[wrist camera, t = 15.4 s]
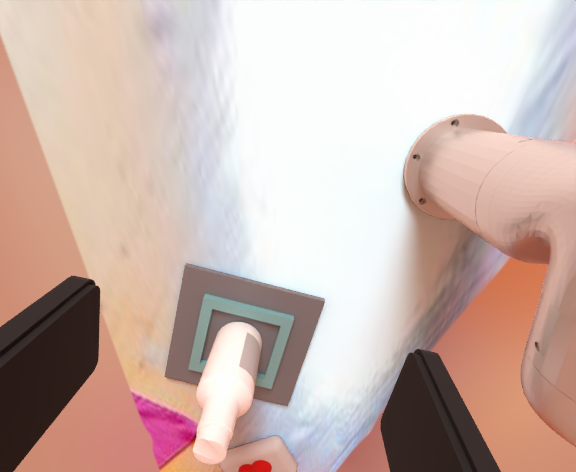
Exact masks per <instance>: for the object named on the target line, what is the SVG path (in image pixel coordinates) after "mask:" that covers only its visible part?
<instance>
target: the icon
mask: <svg viewBox="0 0 576 472" xmlns="http://www.w3.org/2000/svg"><path fill="white" fill-rule="evenodd" d="M218 464H219V467H220V468H221V469H222V471H223V472H297V463H296V461H295V459H294V458H293V456H292V454H291V453H290V451H289V450H288V448H287V446H286V445H285V443H284V441H283V440H282V438H281V437H279V436H277V435H275V436H271V437H268V438H265V439H261V440H258V441H255V442H252V443H249V444H245V445H242V446H239V447H236V448H233V449H229V450H227V454H226V457H225V459H224V460H223V461H222V462H220V463H218Z"/></svg>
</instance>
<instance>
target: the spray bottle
mask: <svg viewBox="0 0 576 472" xmlns="http://www.w3.org/2000/svg"><path fill="white" fill-rule="evenodd" d="M261 348H262V339H261V336H260V334H259V332H258V331H257V330H256V329H255V328H254V327H253V326H251V325H250V324H247V323H244V322H232V323H228V324H226V325H225V326H223V327H222V328H221V329H220V330H219V331H218V333H217V336H216V339H215V342H214V344H213V347H212V350H211V352H210V355H209V358H208V360H207V363H206V366H205V369H204V371H203V374H202V377H201V379H200V382H199V385H198V388H197V391H196V398H197V402H198V404H199V406H200V407H201V409H202V413H201V418H200V422H199V425H198V428H197V438H196V441H195V444H194V447H193V454H194V456H195V457H196V458H197V459H198V460H199V461H201V462H203V463H206V464H217V463H220V462H222V461H223V460H224V459H225V457H226V454H227V450H228V445H229V442H230V441H231V439H232V437H233V432H234V427H235V423H236V421H237V418H238V417H240V416H242V415H244V414H245V413H246V412H247V411H248V410H249V409H250V406H251V404H252V401H253V396H254V390H255V384H256V378H257V372H258V366H259V360H260V354H261Z"/></svg>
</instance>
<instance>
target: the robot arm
mask: <svg viewBox="0 0 576 472" xmlns="http://www.w3.org/2000/svg"><path fill="white" fill-rule="evenodd" d="M452 121H454V124H453V125H451V122H452ZM413 155H416V158H414V159H413ZM404 179H405V186H406V188H407V191H408V194H409V196H410V197H411V199H412V200H413V202H414V203H415V204H416V205H417V206H418V207H419V208H420V209H421V210H423V211H424V212H425V213H427V214H429V215H431V216H433V217H436V218H440V219H447V220H456V219H457V220H458V221H460V222H461V223H462V224H464V225H465V226H466V227H468V228H469V229H470V230H472V231H473V232H475V233H476V234H477V235H479V236H480V237H481V238H483V239H484V240H485V241H487V242H488V243H490V244H491V245H492V246H494V247H495V248H497V249H498V250H499V251H501V252H502V253H504V254H506V255H507V256H510V257H512V258H514V259H517V260H519V261H523V262H527V263H534V264H548V269H547V273H546V276H545V279H544V283H543V286H542V293H541V297H540V300H539V304H538V307H537V310H536V313H535V316H534V320H533V323H532V326H531V330H530V333H529V336H528V340H527V344H526V348H525V351H524V355H523V360H522V365H521V384H522V388H523V391H524V394H525V396H526V398H527V400H528V402H529V404H530V406H531V407H532V408H533V410H534V411H535V412H536V413H537V414H538V416H539V417H540V418H541V419H542V420H543V421H544V422H545V423H546V424H547V425H548V426H549V427H550V428H551V429H552V430H554V431H555V432H556V433H557V434H558V435H560V436H561V437H562V438H564V439H565V440H566V441H568V442H569V443H571V444H572V445H574V446H575V447H576V143H573V142H565V141H557V140H548V139H541V138H534V137H527V136H519V135H512V134H507V133H506V132H505V130H504V129H503V128H502V127H501V126H500V125H499V124H497V123H496V122H495V121H493V120H491V119H489V118H486V117H484V116H480V115H474V114H460V115H453V116H450V117H447V118H444V119H442V120H440V121H438V122H436V123H434V124H433V125H431V126H430V127H429V128H427V129H426V130H425V131H424V132H423V133H422V134H421V135H420V136H419V137H418V138H417V139H416V141H415V142H414V144H413V146H412V147H411V149H410V151H409V154H408V156H407V159H406V163H405V169H404ZM420 198H422V200H421V201H419V200H420ZM99 314H100V288H99V287H98V286H95V282H94V281H93V280H91V279H87V278H82V277H77V276H71V277H69V278H67V279H66V280H65V281H63V282H62V283H60V284H59V285H58V286H56V287H55V288H54V289H52V290H51V291H49V292H48V293H47V294H45V295H44V296H43V297H41V298H40V299H38V300H37V301H36V302H34V303H33V304H31V305H30V306H29V307H27V308H26V309H25V310H23V311H22V312H21V313H19V314H18V315H16V316H15V317H14V318H12V319H11V320H10V321H8V322H7V323H5V324H4V325H2V326H1V327H0V472H13V471H14V470H15V469H16V468H17V466H18V465H19V464H20V463H21V461H22V460H23V459H24V457H25V456H26V455H27V454H28V453H29V451H30V450H31V449H32V447H33V446H34V445H35V444H36V443H37V441H38V440H39V439H40V438H41V436H42V435H43V434H44V433H45V431H46V430H47V429H48V428H49V426H50V425H51V424H52V423H53V421H54V420H55V419H56V418H57V416H58V415H59V414H60V413H61V411H62V410H63V408H65V406H66V405H67V404H68V403H69V401H70V400H71V399H72V397H73V396H74V395H75V394H76V392H77V391H78V390H79V389H80V387H81V386H82V385H83V384H84V383H85V381H86V380H87V379H88V378H89V376H90V375H91V374H92V373H93V371H94V370H95V367H96V365H97V362H98V351H99V350H98V349H99ZM381 432H382V437H383V441H384V446H385V450H386V455H387V459H388V463H389V468H390V472H501V471H500V469H499V467H498V465H497V463H496V462H495V460H494V458H493V456H492V454H491V452H490V450H489V448H488V447H487V445H486V443H485V441H484V439H483V437H482V435H481V433H480V431H479V430H478V428H477V426H476V424H475V422H474V420H473V418H472V416H471V415H470V413H469V411H468V409H467V407H466V405H465V403H464V401H463V399H462V398H461V396H460V394H459V392H458V390H457V388H456V386H455V384H454V383H453V381H452V379H451V377H450V375H449V373H448V371H447V370H446V368H445V366H444V364H443V362H442V360H441V358H440V356H439V355H438V354H437V353H434V352H430V351H425V350H421V349H417V350H415V352H414V353H409V354H408V356H407V358H406V360H405V363H404V365H403V368H402V370H401V372H400V375H399V377H398V380H397V382H396V384H395V387H394V389H393V392H392V394H391V396H390V399H389V401H388V404H387V406H386V408H385V411H384V413H383V416H382V419H381Z"/></svg>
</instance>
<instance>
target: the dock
mask: <svg viewBox="0 0 576 472" xmlns="http://www.w3.org/2000/svg"><path fill="white" fill-rule="evenodd" d="M324 302H325V300H324V298H320V297H316V296H312V295H308V294H304V293H300V292H296V291H292V290H289V289H285V288H281V287H277V286H273V285H269V284H265V283H261V282H257V281H254V280H250V279H246V278H242V277H238V276H234V275H230V274H226V273H222V272H219V271H215V270H211V269H207V268H203V267H199V266H195V265H191V264H186V265H185V268H184V274H183V279H182V285H181V290H180V296H179V301H178V307H177V312H176V318H175V323H174V329H173V334H172V340H171V345H170V351H169V356H168V361H167V367H166V372H165V377H167V378H172V379H176V380H180V381H184V382H189V383H193V384H197V385H199V382H200V379H201V377H202V374H203V371H204V369H205V366H206V363H207V360H208V358H209V355H210V352H211V350H212V347H213V344H214V342H215V339H216V336H217V333H218V331H219V330H220V329H221V328H222V327H223V326H225V325H226V324H228V323H232V322H244V323H247V324H250V325H251V326H253V327H254V328H255V329H256V330H257V331H258V332H259V334H260V336H261V339H262V348H261V354H260V360H259V366H258V372H257V378H256V384H255V390H254V396H253V398H256V399H260V400H265V401H269V402H273V403H277V404H282V405H286V406H288V403H289V401H290V398H291V395H292V392H293V389H294V386H295V384H296V381H297V378H298V375H299V372H300V370H301V367H302V364H303V361H304V358H305V355H306V353H307V350H308V347H309V344H310V341H311V339H312V336H313V333H314V330H315V327H316V325H317V322H318V319H319V316H320V313H321V310H322V308H323V305H324Z"/></svg>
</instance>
